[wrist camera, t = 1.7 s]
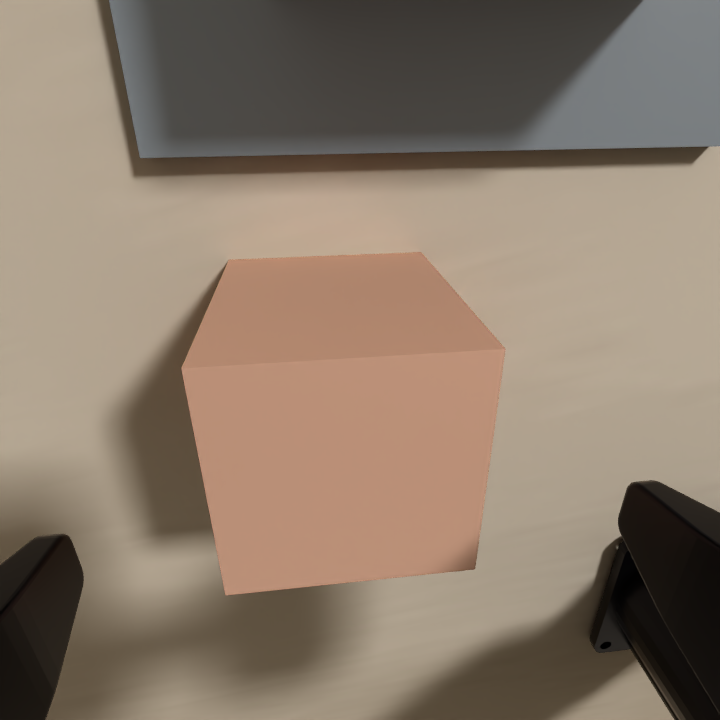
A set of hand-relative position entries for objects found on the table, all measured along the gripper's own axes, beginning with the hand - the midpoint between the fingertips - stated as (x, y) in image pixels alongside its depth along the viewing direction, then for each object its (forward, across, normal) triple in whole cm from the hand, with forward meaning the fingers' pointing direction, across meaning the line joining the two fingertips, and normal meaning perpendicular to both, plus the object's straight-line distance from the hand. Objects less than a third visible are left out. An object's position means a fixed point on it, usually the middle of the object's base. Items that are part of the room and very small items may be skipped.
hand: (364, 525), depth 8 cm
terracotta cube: (+7, 0, 0) cm, 7 cm away
